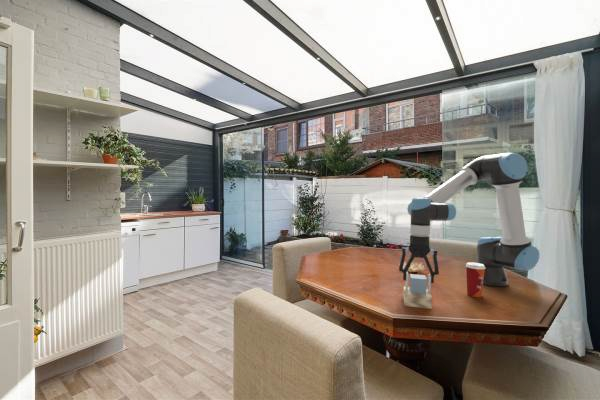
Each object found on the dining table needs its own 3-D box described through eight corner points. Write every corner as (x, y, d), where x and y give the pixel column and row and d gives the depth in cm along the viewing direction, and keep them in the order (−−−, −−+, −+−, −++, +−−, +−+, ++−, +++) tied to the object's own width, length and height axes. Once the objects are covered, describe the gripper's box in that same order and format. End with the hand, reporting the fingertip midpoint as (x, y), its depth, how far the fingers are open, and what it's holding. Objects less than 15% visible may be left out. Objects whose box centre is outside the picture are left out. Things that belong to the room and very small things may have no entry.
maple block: (428, 300, 126) (428, 288, 126) (431, 309, 117) (431, 297, 116) (403, 297, 129) (403, 286, 129) (404, 306, 119) (404, 294, 119)
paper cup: (484, 299, 127) (485, 267, 127) (464, 295, 131) (465, 264, 131) (484, 294, 134) (485, 263, 133) (465, 290, 138) (466, 261, 137)
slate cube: (424, 289, 125) (425, 275, 125) (426, 294, 120) (426, 279, 119) (409, 287, 127) (409, 274, 127) (410, 292, 121) (410, 278, 121)
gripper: (445, 235, 124) (443, 289, 125) (393, 232, 130) (391, 283, 130) (449, 238, 117) (446, 295, 117) (393, 234, 122) (391, 289, 123)
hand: (417, 289), depth 124 cm, fingers open, 8 cm apart
